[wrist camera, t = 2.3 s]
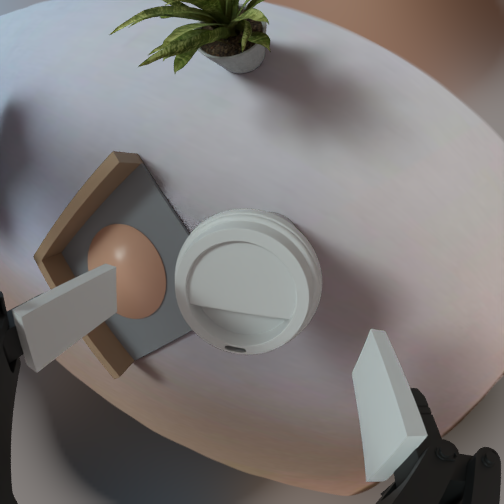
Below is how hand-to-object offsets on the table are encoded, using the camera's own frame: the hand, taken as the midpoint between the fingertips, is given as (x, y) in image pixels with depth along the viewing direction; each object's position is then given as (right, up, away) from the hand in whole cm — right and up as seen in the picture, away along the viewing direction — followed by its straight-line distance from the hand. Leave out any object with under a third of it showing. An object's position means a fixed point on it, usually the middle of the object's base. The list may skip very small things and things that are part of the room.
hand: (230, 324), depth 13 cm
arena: (-15, +1, +21) cm, 26 cm away
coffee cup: (+3, +5, +17) cm, 18 cm away
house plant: (-1, +27, +12) cm, 29 cm away
